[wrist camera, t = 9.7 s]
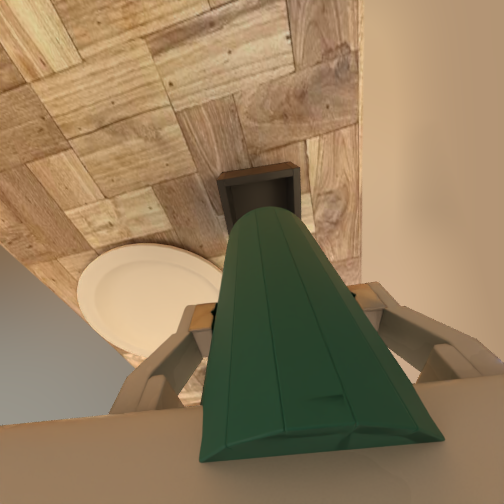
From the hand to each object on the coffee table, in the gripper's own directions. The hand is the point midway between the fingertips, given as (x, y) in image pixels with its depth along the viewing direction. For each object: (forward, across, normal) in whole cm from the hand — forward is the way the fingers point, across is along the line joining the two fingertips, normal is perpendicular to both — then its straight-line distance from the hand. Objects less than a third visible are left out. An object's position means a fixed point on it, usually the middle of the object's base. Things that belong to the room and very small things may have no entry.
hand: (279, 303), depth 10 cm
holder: (+21, 0, +1) cm, 21 cm away
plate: (+21, +19, +18) cm, 34 cm away
